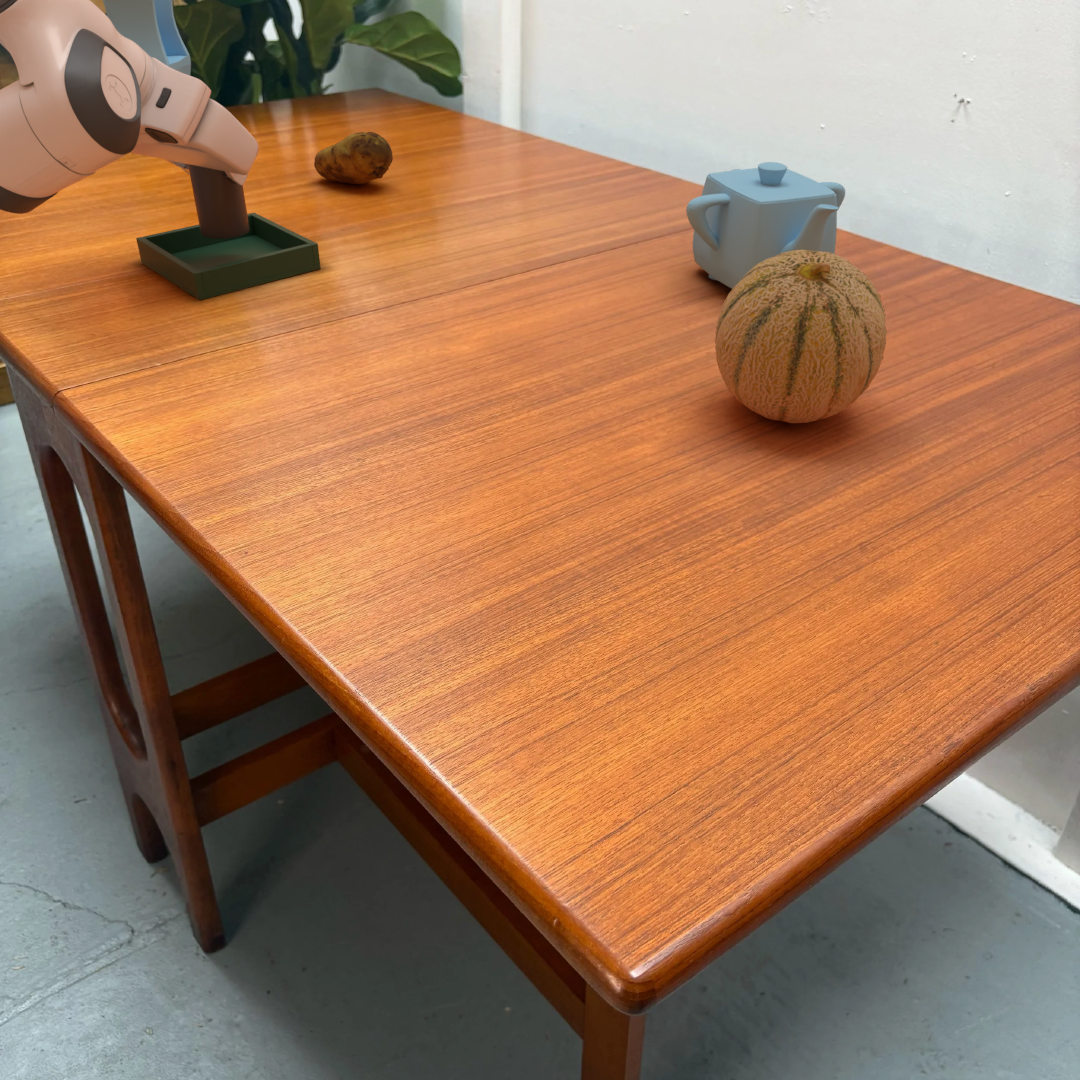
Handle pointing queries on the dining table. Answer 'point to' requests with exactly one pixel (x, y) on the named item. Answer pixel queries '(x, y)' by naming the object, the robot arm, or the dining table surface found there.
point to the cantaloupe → (801, 336)
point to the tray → (228, 257)
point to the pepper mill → (218, 204)
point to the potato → (355, 159)
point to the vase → (151, 29)
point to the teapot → (760, 218)
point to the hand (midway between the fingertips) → (219, 174)
